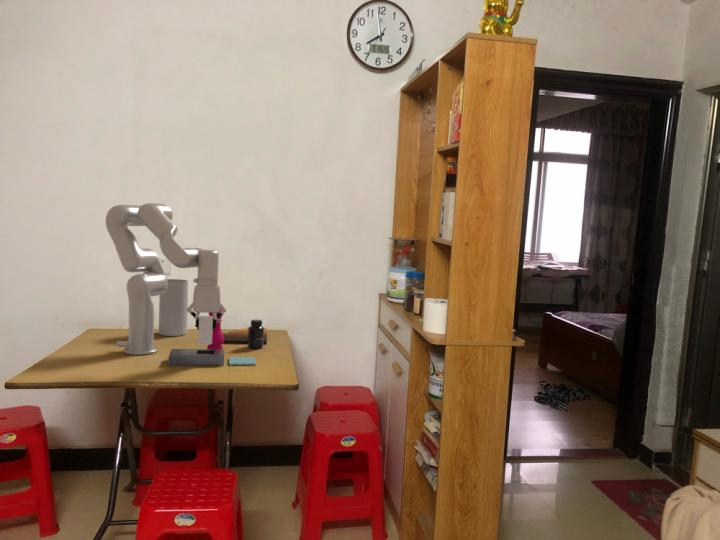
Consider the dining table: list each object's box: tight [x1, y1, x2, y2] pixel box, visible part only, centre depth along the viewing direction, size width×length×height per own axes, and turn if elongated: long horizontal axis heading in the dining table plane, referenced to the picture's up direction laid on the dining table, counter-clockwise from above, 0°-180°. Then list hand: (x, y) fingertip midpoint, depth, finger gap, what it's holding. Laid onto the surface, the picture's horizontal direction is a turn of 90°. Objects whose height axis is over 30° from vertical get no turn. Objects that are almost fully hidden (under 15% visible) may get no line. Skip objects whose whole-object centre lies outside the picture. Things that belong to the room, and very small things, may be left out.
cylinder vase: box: [158, 278, 189, 337], centre depth 269 cm, size 12×12×25 cm
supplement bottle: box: [246, 319, 265, 350], centre depth 252 cm, size 7×7×12 cm
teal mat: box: [228, 356, 257, 367], centre depth 227 cm, size 10×10×1 cm
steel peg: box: [197, 315, 213, 345], centre depth 223 cm, size 5×5×10 cm
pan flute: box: [222, 326, 268, 345], centre depth 270 cm, size 25×3×25 cm
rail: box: [168, 348, 225, 367], centre depth 223 cm, size 20×10×4 cm, turn 102°
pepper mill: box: [206, 309, 224, 349], centre depth 243 cm, size 7×7×20 cm
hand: (205, 328), depth 223 cm, fingers closed on steel peg, 5 cm apart
